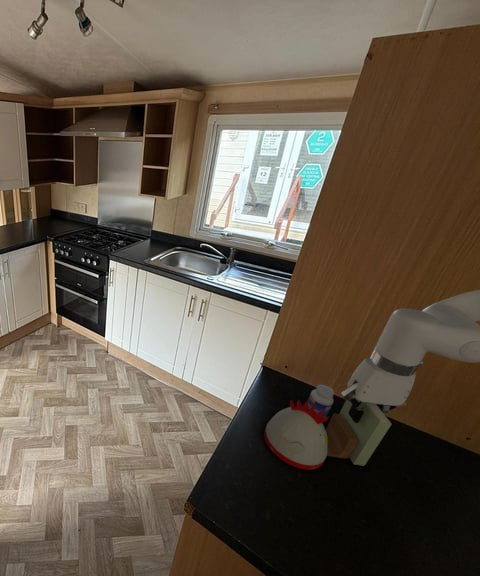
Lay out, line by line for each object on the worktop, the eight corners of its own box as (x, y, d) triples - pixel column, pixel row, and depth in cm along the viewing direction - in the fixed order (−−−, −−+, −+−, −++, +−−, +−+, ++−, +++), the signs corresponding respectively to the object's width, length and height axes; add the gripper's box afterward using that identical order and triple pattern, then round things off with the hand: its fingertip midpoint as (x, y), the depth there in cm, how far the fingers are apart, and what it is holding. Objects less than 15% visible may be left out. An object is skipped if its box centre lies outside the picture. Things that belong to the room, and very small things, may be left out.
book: (364, 388, 80) (353, 386, 80) (392, 423, 70) (380, 421, 71) (341, 429, 87) (331, 427, 87) (364, 466, 77) (353, 464, 77)
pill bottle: (299, 411, 93) (309, 386, 88) (310, 404, 95) (320, 380, 91) (318, 424, 88) (330, 399, 84) (329, 417, 91) (341, 392, 86)
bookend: (332, 432, 86) (341, 414, 83) (348, 459, 79) (358, 440, 76) (312, 429, 87) (321, 411, 84) (326, 455, 80) (336, 437, 77)
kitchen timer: (312, 481, 74) (333, 437, 67) (254, 441, 83) (268, 400, 77) (332, 447, 82) (353, 406, 75) (277, 414, 91) (292, 375, 85)
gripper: (422, 355, 72) (389, 412, 80) (343, 347, 74) (318, 403, 82) (449, 377, 65) (410, 437, 73) (361, 368, 68) (332, 427, 76)
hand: (362, 419), depth 78 cm, fingers open, 3 cm apart
